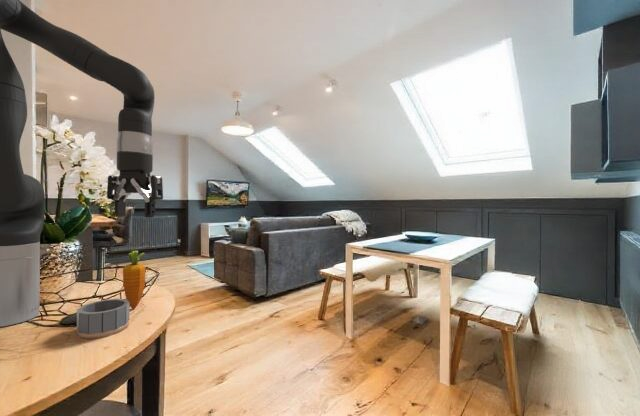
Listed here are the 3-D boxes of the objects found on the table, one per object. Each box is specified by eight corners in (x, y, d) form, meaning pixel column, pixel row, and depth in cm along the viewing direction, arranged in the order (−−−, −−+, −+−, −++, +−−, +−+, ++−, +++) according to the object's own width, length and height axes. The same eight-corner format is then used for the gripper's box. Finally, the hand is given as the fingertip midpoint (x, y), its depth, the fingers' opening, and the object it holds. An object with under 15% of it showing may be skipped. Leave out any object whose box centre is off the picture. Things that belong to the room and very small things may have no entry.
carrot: (126, 306, 72) (126, 248, 72) (147, 304, 74) (148, 248, 74) (118, 313, 68) (119, 252, 67) (142, 311, 69) (142, 251, 69)
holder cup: (68, 341, 54) (68, 315, 54) (89, 323, 62) (89, 300, 62) (120, 335, 57) (120, 311, 57) (133, 318, 65) (134, 297, 65)
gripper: (170, 154, 72) (170, 217, 73) (124, 155, 75) (124, 215, 75) (147, 149, 65) (147, 218, 65) (97, 150, 68) (96, 217, 68)
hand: (134, 217), depth 70 cm, fingers open, 8 cm apart
